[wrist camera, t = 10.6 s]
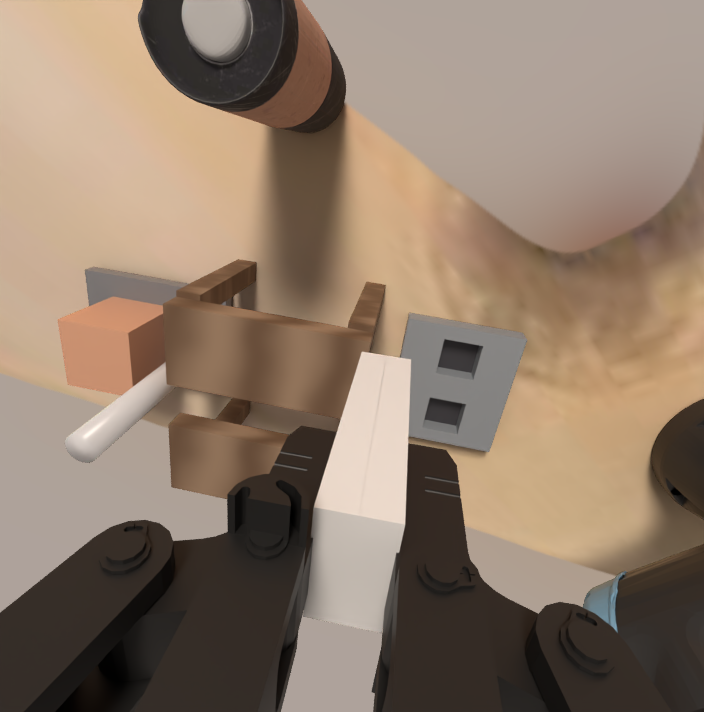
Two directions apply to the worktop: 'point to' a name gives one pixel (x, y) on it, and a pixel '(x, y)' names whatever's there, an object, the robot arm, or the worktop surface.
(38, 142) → the worktop surface
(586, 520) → the worktop surface
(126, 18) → the worktop surface
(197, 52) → the travel mug
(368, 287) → the wooden rack
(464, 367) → the pit plate
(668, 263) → the worktop surface
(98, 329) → the white lever handle
